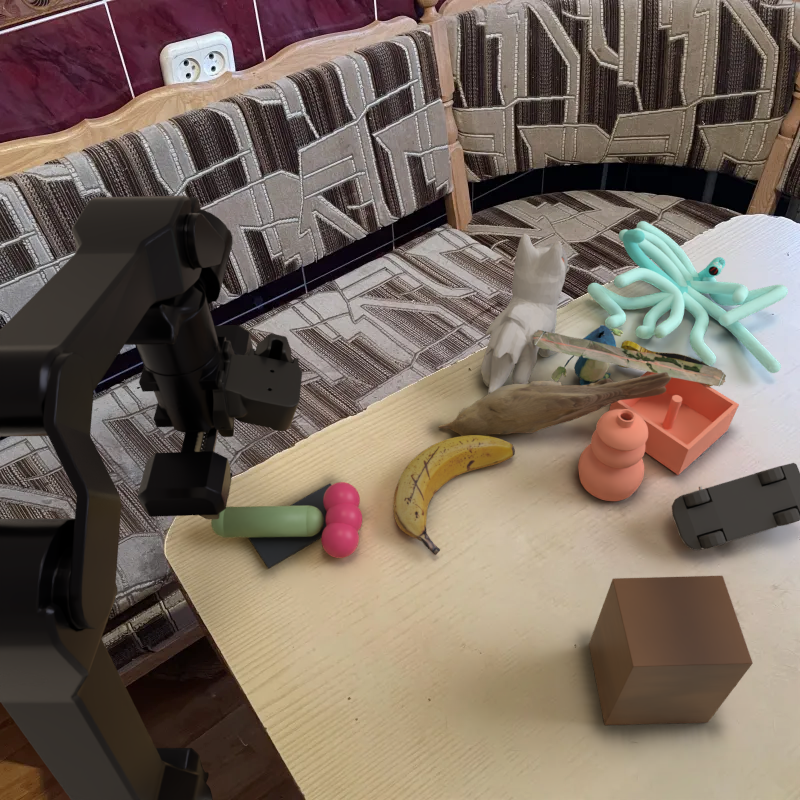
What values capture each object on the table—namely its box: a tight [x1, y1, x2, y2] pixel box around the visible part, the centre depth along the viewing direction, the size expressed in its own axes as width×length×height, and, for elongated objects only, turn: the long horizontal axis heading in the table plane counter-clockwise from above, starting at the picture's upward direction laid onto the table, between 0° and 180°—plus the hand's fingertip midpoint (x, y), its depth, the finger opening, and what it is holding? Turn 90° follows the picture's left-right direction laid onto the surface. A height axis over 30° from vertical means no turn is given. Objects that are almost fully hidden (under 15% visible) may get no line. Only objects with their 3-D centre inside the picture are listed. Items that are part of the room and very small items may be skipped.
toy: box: [480, 233, 571, 395], centre depth 85 cm, size 6×19×15 cm, turn 150°
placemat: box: [247, 482, 332, 569], centre depth 76 cm, size 10×5×1 cm, turn 125°
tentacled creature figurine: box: [587, 220, 789, 374], centre depth 93 cm, size 25×14×18 cm
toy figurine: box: [551, 324, 624, 386], centre depth 86 cm, size 12×4×8 cm, turn 131°
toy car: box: [671, 462, 800, 551], centre depth 73 cm, size 6×13×5 cm
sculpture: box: [438, 372, 671, 436], centre depth 80 cm, size 6×25×5 cm
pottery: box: [577, 371, 740, 502], centre depth 78 cm, size 18×10×10 cm, turn 131°
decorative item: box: [618, 340, 714, 387], centre depth 86 cm, size 11×1×5 cm, turn 68°
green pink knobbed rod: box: [210, 481, 363, 559], centre depth 74 cm, size 15×8×4 cm, turn 90°
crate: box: [588, 575, 754, 726], centre depth 60 cm, size 8×7×12 cm
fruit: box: [392, 435, 516, 556], centre depth 77 cm, size 15×9×3 cm, turn 135°
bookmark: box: [533, 330, 727, 387], centre depth 82 cm, size 3×21×1 cm, turn 81°
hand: (221, 474), depth 68 cm, fingers open, 9 cm apart
